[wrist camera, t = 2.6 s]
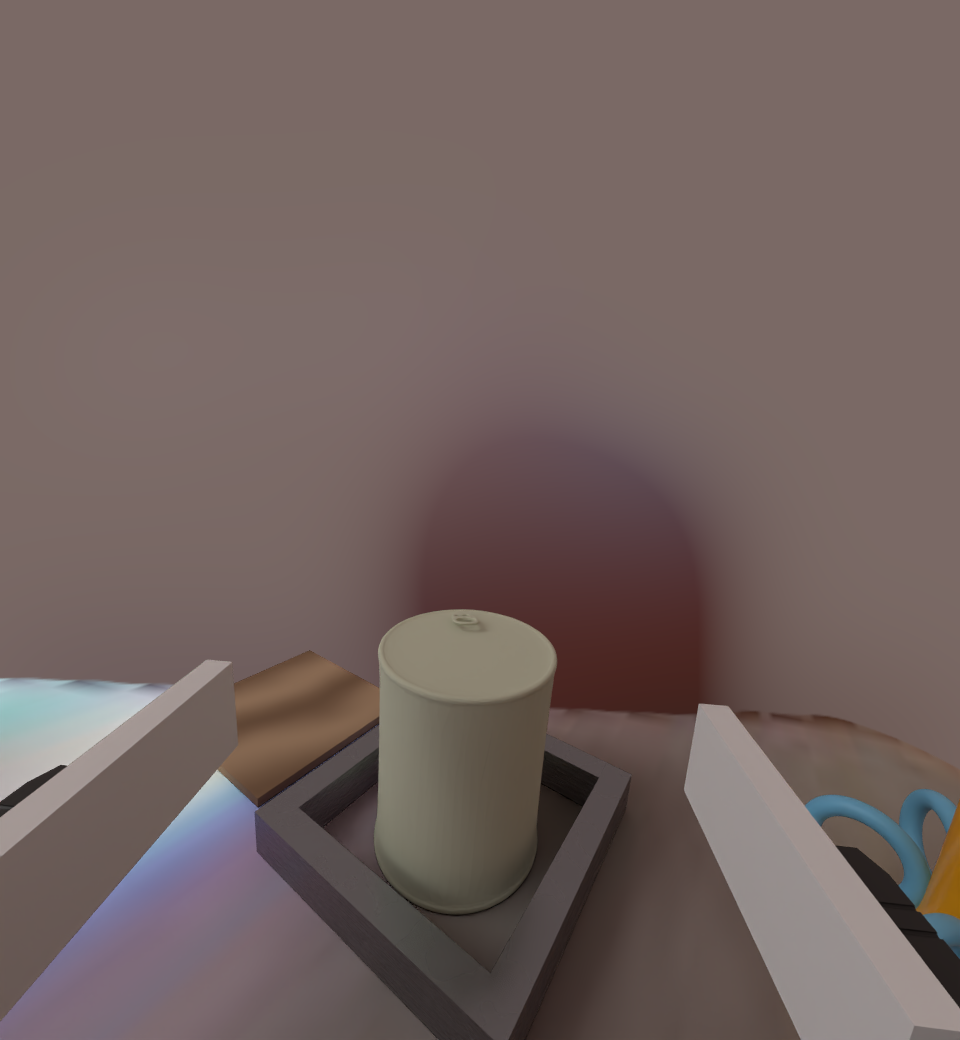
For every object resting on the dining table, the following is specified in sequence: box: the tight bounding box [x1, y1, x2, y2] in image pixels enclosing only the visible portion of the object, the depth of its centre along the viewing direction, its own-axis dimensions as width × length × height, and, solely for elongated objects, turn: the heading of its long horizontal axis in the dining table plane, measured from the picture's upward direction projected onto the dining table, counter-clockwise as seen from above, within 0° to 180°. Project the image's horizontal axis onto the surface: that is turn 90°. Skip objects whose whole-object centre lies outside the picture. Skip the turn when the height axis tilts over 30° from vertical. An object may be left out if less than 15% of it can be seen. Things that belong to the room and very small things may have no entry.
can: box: [374, 610, 557, 914], centre depth 24 cm, size 9×9×12 cm
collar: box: [255, 725, 632, 1040], centre depth 25 cm, size 15×15×2 cm
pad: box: [218, 650, 380, 807], centre depth 34 cm, size 12×12×1 cm
